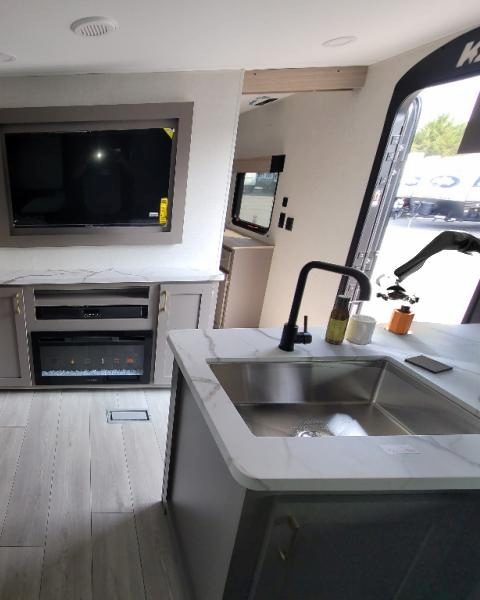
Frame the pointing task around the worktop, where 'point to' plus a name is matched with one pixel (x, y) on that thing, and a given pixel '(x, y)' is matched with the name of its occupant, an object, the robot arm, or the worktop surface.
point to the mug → (360, 329)
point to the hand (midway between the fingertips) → (399, 300)
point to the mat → (428, 364)
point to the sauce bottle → (338, 321)
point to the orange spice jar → (400, 321)
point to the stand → (403, 309)
